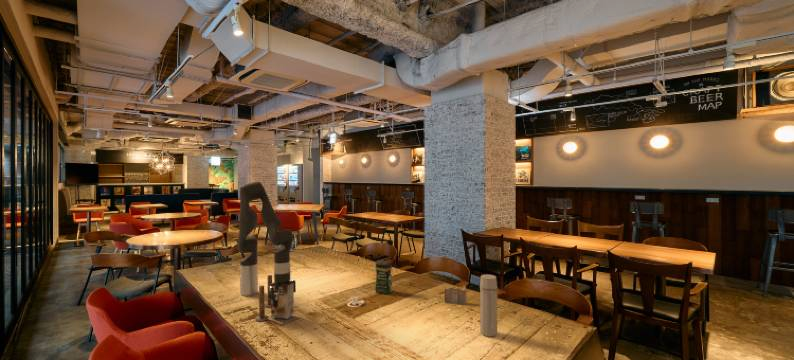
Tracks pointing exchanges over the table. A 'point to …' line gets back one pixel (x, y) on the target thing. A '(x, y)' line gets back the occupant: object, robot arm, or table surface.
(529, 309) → the table surface
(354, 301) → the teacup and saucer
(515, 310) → the table surface
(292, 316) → the pad
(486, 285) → the water bottle
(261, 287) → the post
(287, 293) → the coffee box
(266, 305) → the post
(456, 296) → the architectural model on board
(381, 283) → the coffee jar
